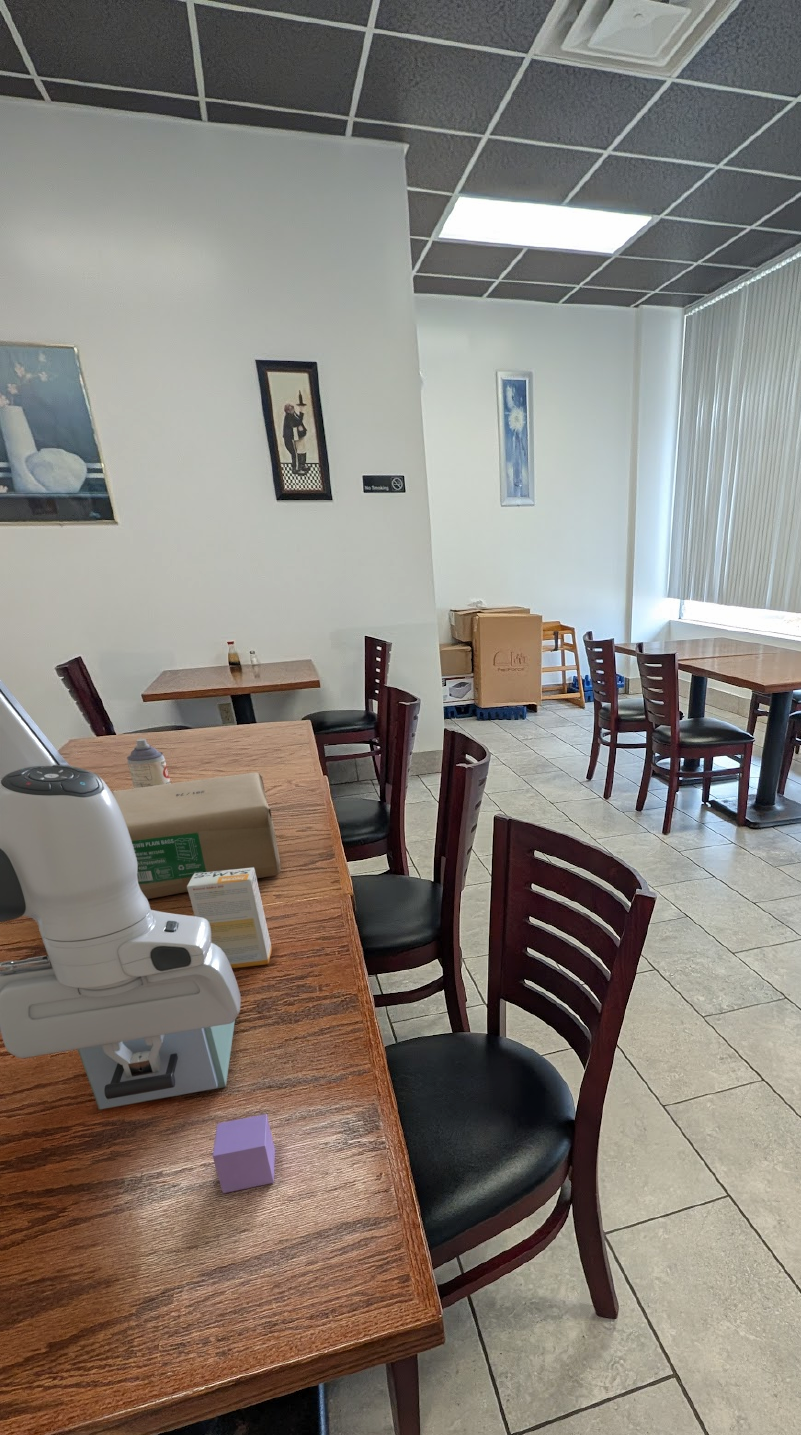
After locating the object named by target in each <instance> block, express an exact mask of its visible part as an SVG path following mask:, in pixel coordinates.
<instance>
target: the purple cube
mask: <svg viewBox="0 0 801 1435" xmlns="http://www.w3.org/2000/svg"><path fill="white" fill-rule="evenodd" d="M213 1144H214V1145H213V1151H212V1160H213V1164H214V1166H215V1170H216V1173H217V1177H218V1180H219V1184H220V1188H221V1191H222V1194H227V1193H233V1192H236V1191H241V1190H246V1189H251V1188H256V1187H260V1186H264V1185H270V1184H274V1183H275V1160H276V1147H275V1144H274V1139H273V1135H272V1130H271V1127H270V1122H269V1118H268V1114H267V1113H264V1114H259V1115H254V1116H249V1117H243V1118H239V1119H233V1120H227V1121H223V1122H218V1123H217V1124H216V1130H215V1138H214V1143H213Z"/></svg>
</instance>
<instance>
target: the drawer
mask: <svg viewBox="0 0 801 1435" xmlns="http://www.w3.org/2000/svg"><path fill="white" fill-rule="evenodd" d="M122 1043H123V1044H124V1045H125V1046H126V1047H127V1048H128V1049H129V1050H131V1051H132V1052H133V1053H136V1052H143V1051H148V1050H150V1049H151V1047H152V1045H149V1046H148V1045H146V1043H145V1039H144V1038H142V1039H136V1040H130V1041H124V1042H122ZM79 1050H80V1053H81V1056H82V1058H83V1061H84V1064H85V1067H86V1070H87V1072H88V1075H89V1078H90V1081H91V1084H92V1087H93V1089H94V1092H95V1095H96V1098H97V1101H98V1104H99V1106H100V1109H101V1110H105V1109H104V1108H106V1109H110V1108H109V1107H112V1108H116V1107H115V1106H117V1107H121V1106H120V1105H123V1106H127V1105H126V1104H128V1105H132V1104H131V1103H134V1104H137V1102H139V1103H143V1102H142V1101H145V1102H149V1101H148V1100H150V1101H154V1100H153V1099H156V1100H160V1099H159V1098H161V1099H165V1098H164V1097H167V1098H171V1097H170V1096H172V1097H177V1096H176V1095H178V1096H182V1095H181V1094H183V1095H187V1093H189V1094H193V1093H192V1092H194V1093H199V1092H198V1091H200V1092H204V1091H203V1090H206V1091H210V1090H209V1089H211V1090H215V1089H214V1088H217V1086H218V1078H217V1075H216V1071H215V1067H214V1063H213V1059H212V1055H211V1052H210V1048H209V1044H208V1040H207V1036H206V1032H205V1029H204V1028H201V1029H195V1030H189V1031H183V1032H177V1033H171V1034H165V1035H164V1038H163V1041H162V1045H161V1047H160V1050H159V1056H160V1059H161V1068H160V1072H156V1073H150V1074H145V1075H140V1076H135V1077H129V1078H127V1077H126V1074H125V1071H124V1068H123V1065H120V1064H119V1063H118V1062H116V1061H115V1060H113V1059H112V1058H111V1057H109V1056H108V1055H107V1054H105V1052H104V1049H103V1047H102V1045H100V1046H95V1047H89V1048H83V1049H79ZM217 1089H218V1088H217Z"/></svg>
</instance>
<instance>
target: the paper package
mask: <svg viewBox="0 0 801 1435" xmlns="http://www.w3.org/2000/svg"><path fill="white" fill-rule="evenodd" d="M170 783H171V782H170ZM111 792H112V794H113V795H114V797H115V799H116V801H117V803H118V805H119V808H120V810H121V812H122V815H123V817H124V820H125V823H126V825H127V828H128V831H129V834H130V837H131V841H132V844H133V848H134V851H135V855H136V858H137V863H138V871H137V878H138V884H139V887H140V889H141V891H142V892H143V894H144V895H145V897H146V898H147V900H151V899H156V898H162V897H165V896H172V895H176V894H177V895H178V894H183V893H188V889H187V885H188V884H189V882H190V880H191V878H192V876H193V875H194V874H195V873H204V872H214V871H225V870H233V869H243V868H254V869H255V874H256V878H257V880H258V879H263V878H268V877H273V876H276V875H279V874H280V873H281V870H282V869H281V859H280V853H279V847H278V842H277V838H276V830H275V826H274V821H273V819H272V809H271V808H270V806H269V804H268V800H267V794H266V791H265V785H264V780H263V775H262V774H260V773H259V772H256V771H255V772H249V773H240V774H232V775H225V776H216V777H209V778H202V779H196V780H195V779H194V780H187V781H179V782H173V783H171V784H164V785H156V786H149V787H141V788H134V787H133V788H128V789H119V790H112V791H111Z"/></svg>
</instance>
